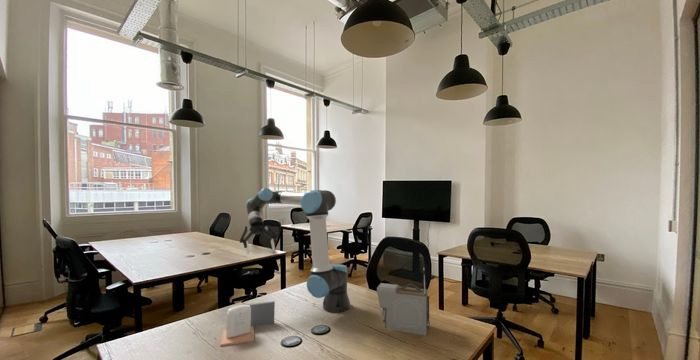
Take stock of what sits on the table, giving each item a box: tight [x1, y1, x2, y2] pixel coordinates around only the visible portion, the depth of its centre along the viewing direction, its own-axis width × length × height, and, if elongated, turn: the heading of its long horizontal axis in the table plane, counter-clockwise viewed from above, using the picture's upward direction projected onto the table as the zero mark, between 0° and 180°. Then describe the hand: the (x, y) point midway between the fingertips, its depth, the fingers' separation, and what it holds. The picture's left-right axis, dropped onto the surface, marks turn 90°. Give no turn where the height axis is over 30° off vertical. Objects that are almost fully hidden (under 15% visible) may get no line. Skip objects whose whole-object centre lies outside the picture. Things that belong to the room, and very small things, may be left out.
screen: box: [245, 300, 275, 327], centre depth 137 cm, size 14×2×10 cm, turn 108°
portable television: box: [376, 267, 431, 336], centre depth 136 cm, size 12×24×30 cm, turn 70°
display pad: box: [219, 326, 255, 347], centre depth 126 cm, size 13×13×1 cm
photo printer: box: [225, 304, 251, 338], centre depth 126 cm, size 10×4×12 cm, turn 123°
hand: (261, 251), depth 154 cm, fingers open, 13 cm apart
